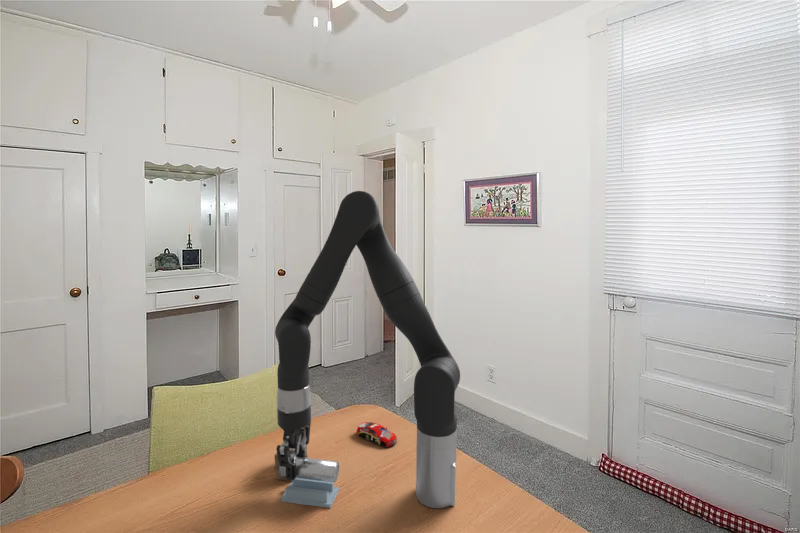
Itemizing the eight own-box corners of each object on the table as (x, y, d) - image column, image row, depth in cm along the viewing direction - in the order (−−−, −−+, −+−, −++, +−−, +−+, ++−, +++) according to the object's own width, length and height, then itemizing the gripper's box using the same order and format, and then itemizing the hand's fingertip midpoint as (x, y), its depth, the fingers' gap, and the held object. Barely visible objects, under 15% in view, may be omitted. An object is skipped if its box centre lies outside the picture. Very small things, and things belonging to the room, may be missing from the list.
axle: (339, 474, 98) (339, 457, 97) (333, 487, 93) (332, 469, 93) (288, 467, 100) (287, 451, 99) (279, 479, 96) (279, 462, 95)
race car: (400, 442, 120) (400, 430, 120) (389, 451, 116) (389, 438, 115) (366, 428, 128) (366, 416, 127) (354, 436, 124) (354, 423, 123)
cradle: (338, 490, 99) (338, 479, 98) (330, 507, 93) (330, 496, 93) (291, 484, 101) (291, 474, 100) (280, 501, 95) (280, 490, 95)
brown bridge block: (307, 461, 110) (306, 439, 109) (294, 481, 102) (293, 457, 101) (289, 459, 111) (289, 437, 110) (275, 479, 103) (274, 455, 102)
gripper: (292, 389, 102) (293, 453, 105) (263, 416, 89) (265, 489, 91) (320, 391, 101) (321, 456, 103) (296, 420, 87) (297, 494, 89)
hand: (295, 471), depth 97 cm, fingers closed on axle, 4 cm apart
